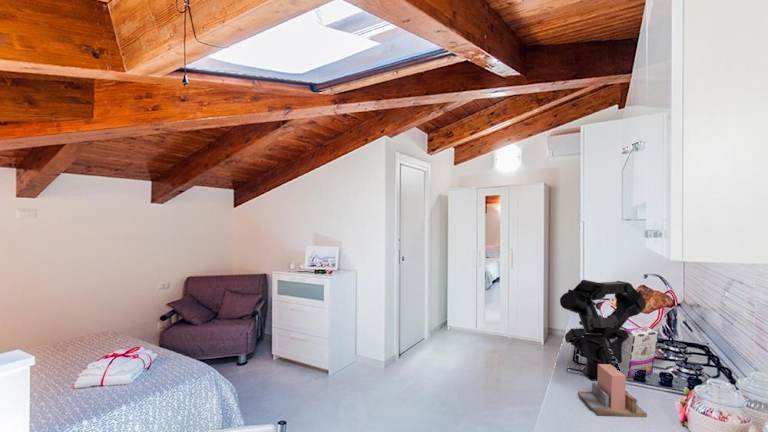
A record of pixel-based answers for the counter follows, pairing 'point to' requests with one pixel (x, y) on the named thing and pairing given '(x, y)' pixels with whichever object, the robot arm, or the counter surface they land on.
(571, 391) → the counter surface
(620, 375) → the pink rectangular block
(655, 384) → the counter surface
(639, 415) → the book rack
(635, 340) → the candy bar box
